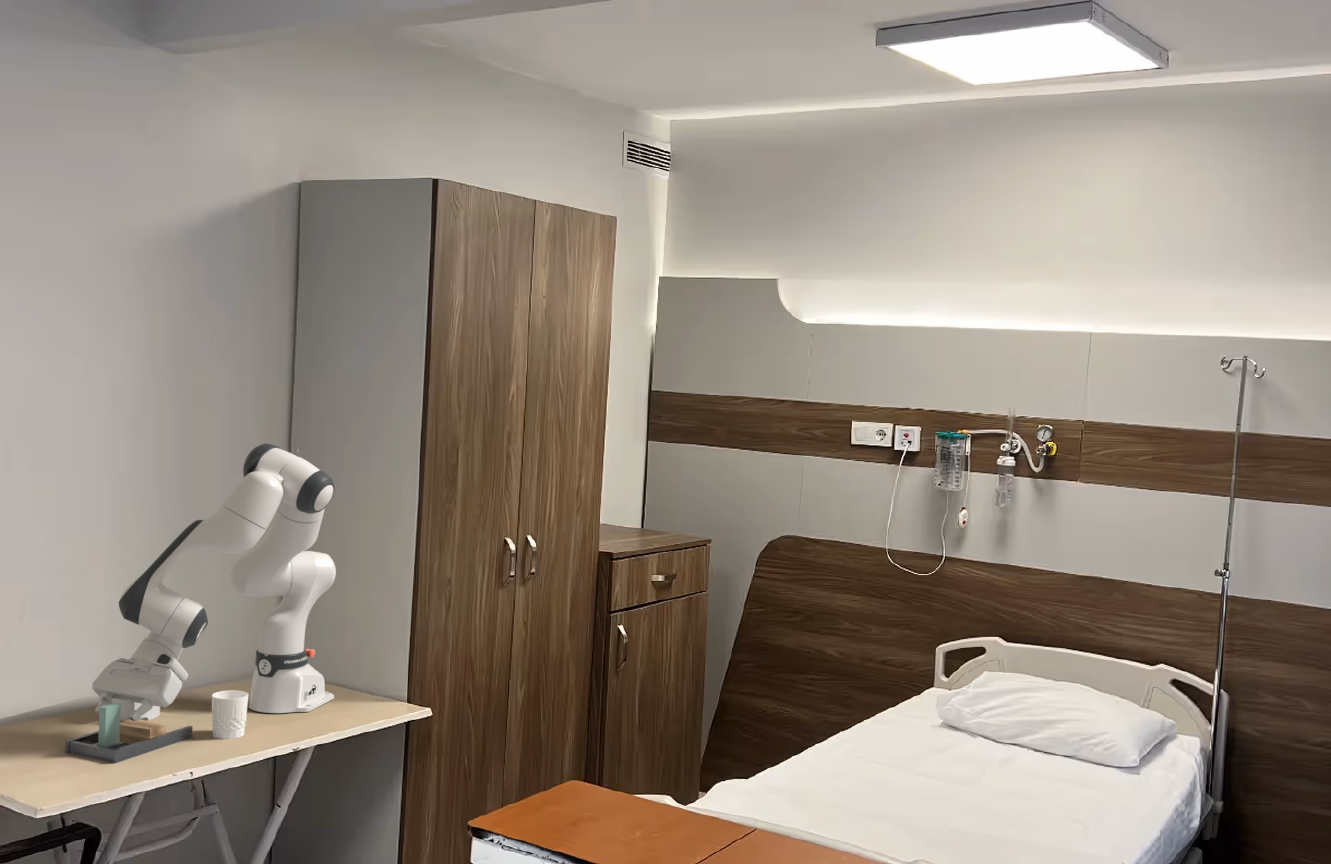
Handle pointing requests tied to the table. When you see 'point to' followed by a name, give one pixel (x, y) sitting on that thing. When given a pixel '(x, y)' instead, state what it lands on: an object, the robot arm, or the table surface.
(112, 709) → the sage board
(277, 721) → the table surface
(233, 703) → the white cup
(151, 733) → the offcut stack
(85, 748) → the tray
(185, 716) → the table surface
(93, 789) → the table surface
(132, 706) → the toilet tissue
